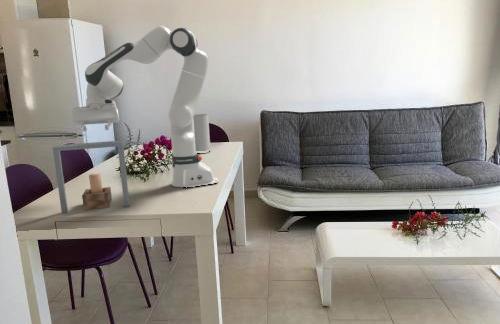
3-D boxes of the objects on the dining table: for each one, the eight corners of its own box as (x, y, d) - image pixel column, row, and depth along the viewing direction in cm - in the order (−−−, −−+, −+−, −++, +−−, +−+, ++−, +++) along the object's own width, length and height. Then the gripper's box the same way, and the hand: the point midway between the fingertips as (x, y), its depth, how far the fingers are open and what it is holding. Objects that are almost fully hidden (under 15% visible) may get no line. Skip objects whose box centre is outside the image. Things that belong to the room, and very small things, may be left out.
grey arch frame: (130, 202, 182) (123, 140, 176) (129, 206, 177) (122, 142, 171) (64, 209, 177) (55, 145, 172) (61, 213, 172) (52, 147, 166)
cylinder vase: (194, 150, 298) (191, 114, 293) (212, 150, 296) (210, 113, 291) (189, 154, 286) (186, 116, 281) (208, 153, 284) (205, 115, 279)
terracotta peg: (104, 200, 183) (101, 172, 181) (103, 203, 179) (99, 175, 177) (93, 201, 182) (89, 173, 180) (91, 204, 178) (87, 176, 176)
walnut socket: (112, 200, 187) (110, 186, 185) (109, 207, 177) (107, 193, 176) (87, 202, 185) (85, 189, 183) (83, 209, 175) (82, 195, 174)
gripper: (70, 103, 194) (69, 127, 187) (117, 100, 198) (118, 124, 191) (73, 112, 200) (72, 136, 192) (119, 109, 203) (120, 132, 196)
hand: (95, 130), depth 192 cm, fingers open, 8 cm apart
